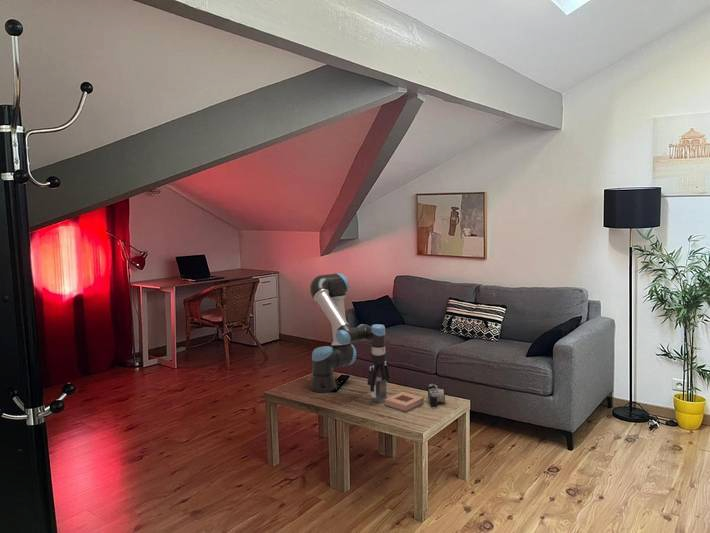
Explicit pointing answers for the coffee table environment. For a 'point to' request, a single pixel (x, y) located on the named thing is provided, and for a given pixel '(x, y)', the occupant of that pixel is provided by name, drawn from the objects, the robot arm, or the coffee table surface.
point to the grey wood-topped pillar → (380, 390)
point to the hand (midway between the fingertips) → (378, 394)
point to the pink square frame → (404, 401)
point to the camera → (435, 395)
